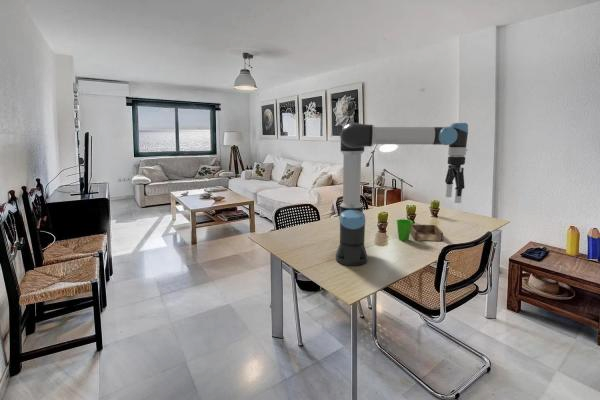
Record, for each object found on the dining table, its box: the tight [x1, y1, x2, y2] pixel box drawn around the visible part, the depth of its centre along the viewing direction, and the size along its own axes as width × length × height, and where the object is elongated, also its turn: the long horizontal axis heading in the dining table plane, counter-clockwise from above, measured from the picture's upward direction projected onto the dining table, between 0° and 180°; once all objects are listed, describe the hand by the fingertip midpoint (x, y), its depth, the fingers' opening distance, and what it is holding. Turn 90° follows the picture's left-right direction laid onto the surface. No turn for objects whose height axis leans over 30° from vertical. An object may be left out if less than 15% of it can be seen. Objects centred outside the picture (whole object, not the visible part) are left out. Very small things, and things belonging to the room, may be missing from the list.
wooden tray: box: [410, 223, 444, 242], centre depth 190 cm, size 15×16×5 cm
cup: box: [396, 218, 414, 242], centre depth 184 cm, size 9×9×11 cm
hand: (452, 199), depth 159 cm, fingers open, 13 cm apart
